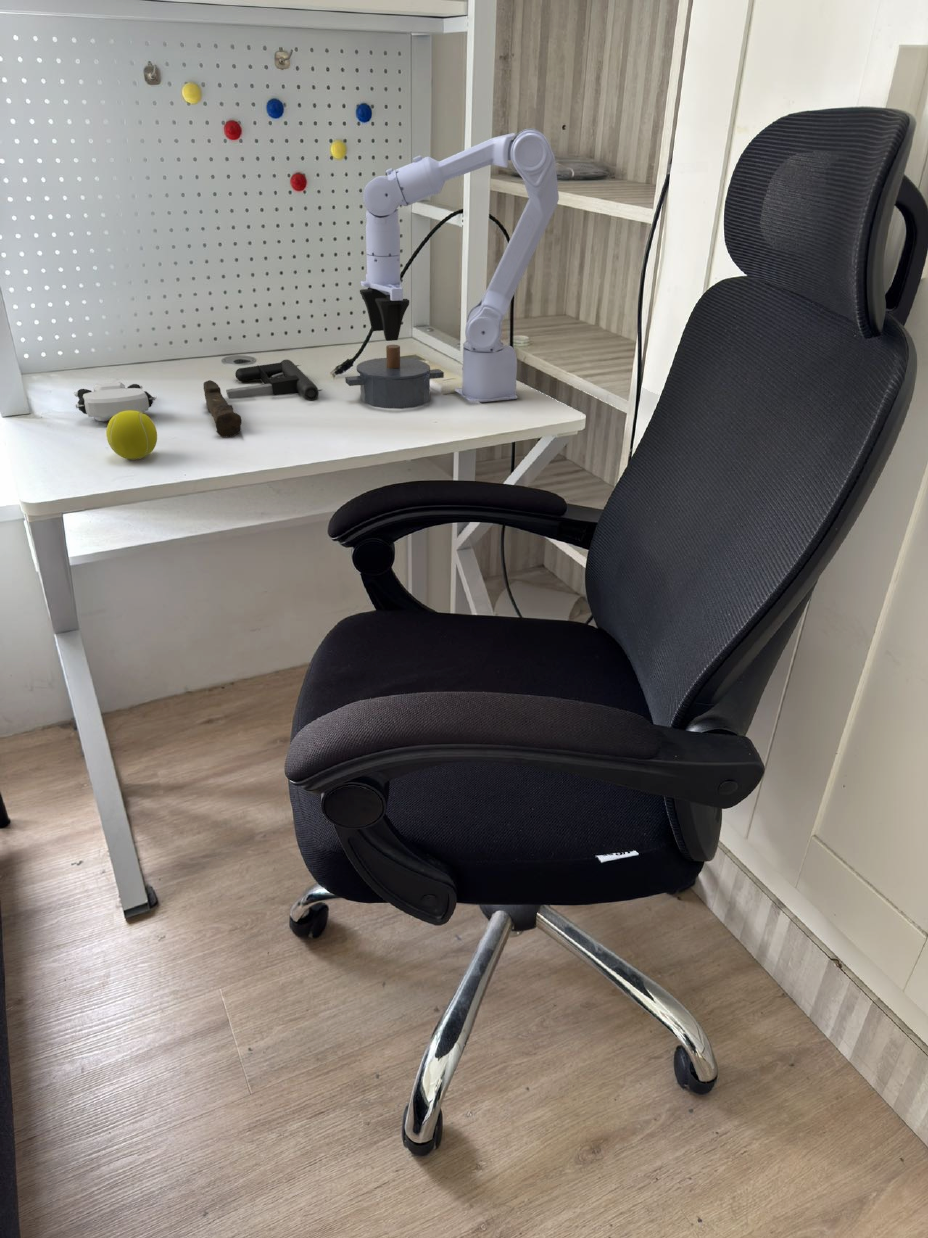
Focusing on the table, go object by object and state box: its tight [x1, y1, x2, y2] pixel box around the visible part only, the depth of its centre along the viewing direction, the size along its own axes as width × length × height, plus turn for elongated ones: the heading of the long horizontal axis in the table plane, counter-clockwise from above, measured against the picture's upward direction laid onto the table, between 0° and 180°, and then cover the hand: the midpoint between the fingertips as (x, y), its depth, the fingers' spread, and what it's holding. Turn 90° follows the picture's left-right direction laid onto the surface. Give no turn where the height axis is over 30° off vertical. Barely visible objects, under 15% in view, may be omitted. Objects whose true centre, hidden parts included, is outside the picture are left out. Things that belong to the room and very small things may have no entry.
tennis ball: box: [106, 410, 158, 460], centre depth 134 cm, size 7×7×7 cm
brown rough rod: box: [203, 379, 243, 438], centre depth 151 cm, size 19×4×5 cm, turn 21°
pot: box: [344, 368, 445, 410], centre depth 162 cm, size 12×18×6 cm
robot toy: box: [73, 381, 158, 422], centre depth 153 cm, size 12×4×15 cm
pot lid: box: [356, 344, 431, 380], centre depth 161 cm, size 13×13×5 cm
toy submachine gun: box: [225, 359, 322, 401], centre depth 167 cm, size 3×20×16 cm
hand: (384, 335), depth 163 cm, fingers open, 7 cm apart
